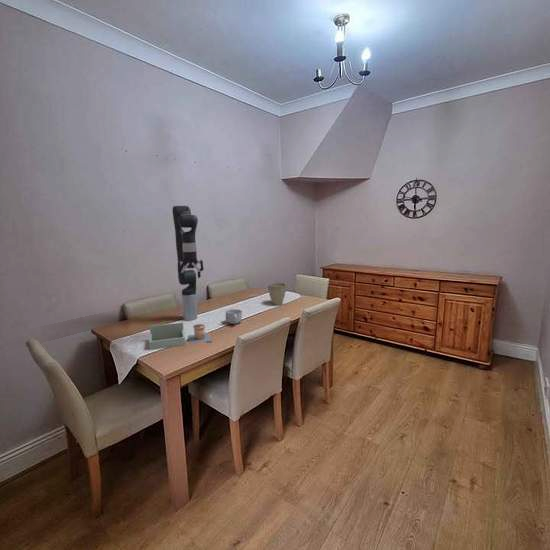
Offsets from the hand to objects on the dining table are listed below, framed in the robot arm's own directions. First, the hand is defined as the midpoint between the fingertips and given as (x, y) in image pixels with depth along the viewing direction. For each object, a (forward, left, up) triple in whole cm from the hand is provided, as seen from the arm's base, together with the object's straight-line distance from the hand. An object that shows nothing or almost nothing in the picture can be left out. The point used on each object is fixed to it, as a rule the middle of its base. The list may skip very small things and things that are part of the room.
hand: (191, 278), depth 176 cm
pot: (+12, +2, -32) cm, 34 cm away
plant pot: (-41, +68, -33) cm, 86 cm away
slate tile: (+12, +2, -33) cm, 35 cm away
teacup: (-8, +26, -33) cm, 43 cm away
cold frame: (+12, -15, -33) cm, 38 cm away
